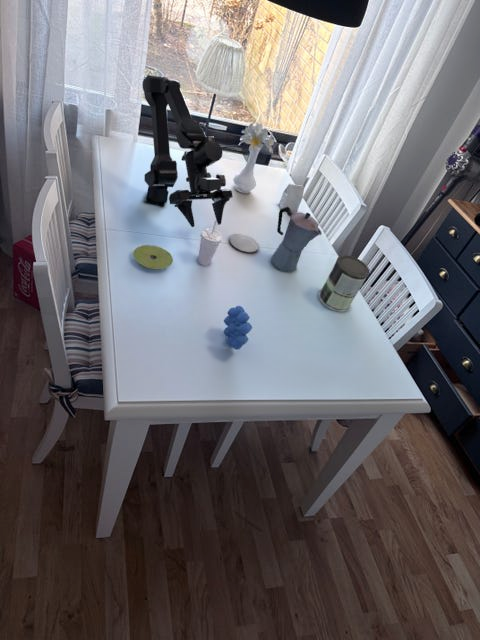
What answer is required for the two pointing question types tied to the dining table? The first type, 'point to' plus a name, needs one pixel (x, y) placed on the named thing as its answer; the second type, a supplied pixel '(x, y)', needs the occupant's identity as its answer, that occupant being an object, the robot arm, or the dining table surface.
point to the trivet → (243, 243)
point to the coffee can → (343, 283)
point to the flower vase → (252, 156)
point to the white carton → (292, 197)
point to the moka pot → (294, 239)
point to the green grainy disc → (153, 257)
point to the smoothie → (208, 245)
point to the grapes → (237, 327)
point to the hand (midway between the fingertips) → (206, 225)
